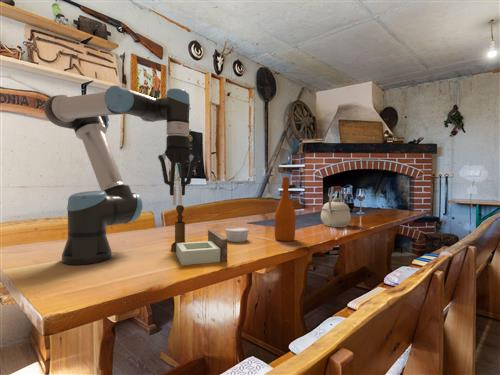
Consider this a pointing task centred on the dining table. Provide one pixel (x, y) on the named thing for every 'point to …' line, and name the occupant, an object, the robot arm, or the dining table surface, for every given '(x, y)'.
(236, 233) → the ramekin
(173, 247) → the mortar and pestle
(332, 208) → the kettle
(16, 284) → the dining table surface
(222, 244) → the backstop wall
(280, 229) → the wine bottle
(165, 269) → the dining table surface
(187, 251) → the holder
